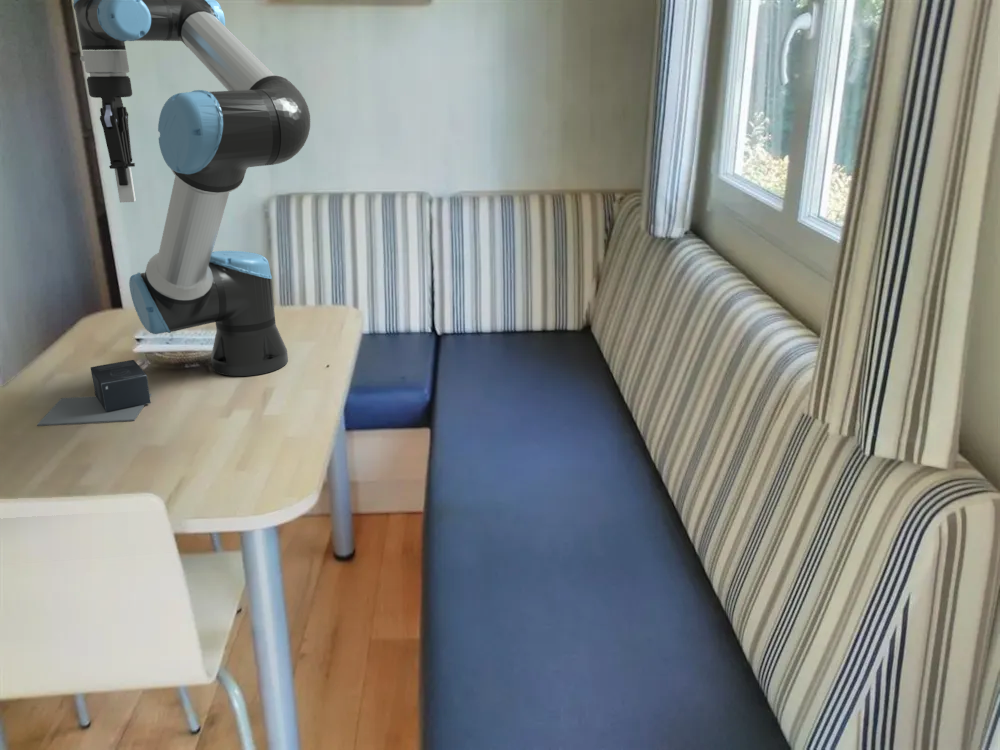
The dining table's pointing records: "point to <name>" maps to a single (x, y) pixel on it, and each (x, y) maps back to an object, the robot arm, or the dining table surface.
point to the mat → (86, 412)
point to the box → (120, 385)
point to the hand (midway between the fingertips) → (127, 201)
